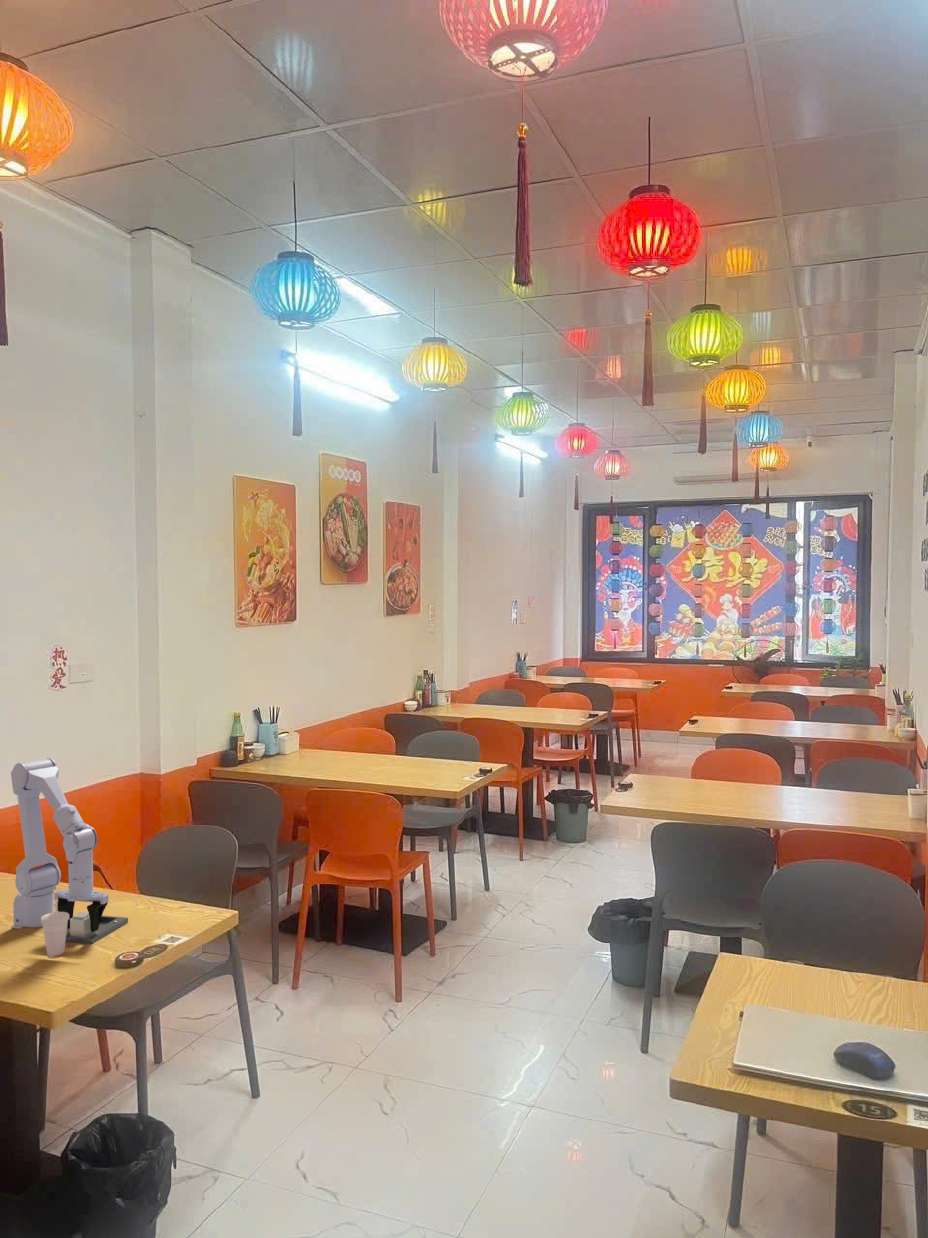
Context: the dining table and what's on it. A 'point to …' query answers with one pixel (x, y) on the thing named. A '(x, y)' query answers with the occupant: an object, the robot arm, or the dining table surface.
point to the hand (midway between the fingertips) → (81, 929)
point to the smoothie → (55, 931)
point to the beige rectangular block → (80, 925)
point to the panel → (99, 930)
